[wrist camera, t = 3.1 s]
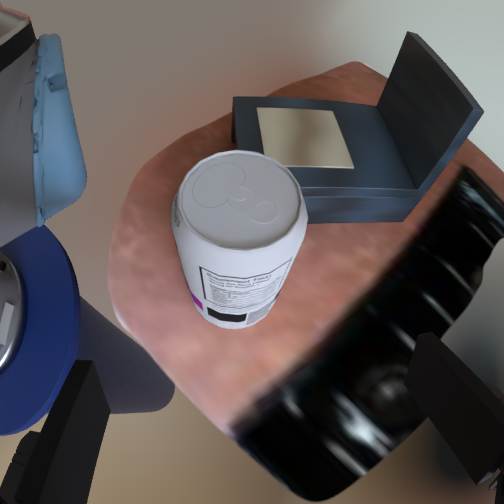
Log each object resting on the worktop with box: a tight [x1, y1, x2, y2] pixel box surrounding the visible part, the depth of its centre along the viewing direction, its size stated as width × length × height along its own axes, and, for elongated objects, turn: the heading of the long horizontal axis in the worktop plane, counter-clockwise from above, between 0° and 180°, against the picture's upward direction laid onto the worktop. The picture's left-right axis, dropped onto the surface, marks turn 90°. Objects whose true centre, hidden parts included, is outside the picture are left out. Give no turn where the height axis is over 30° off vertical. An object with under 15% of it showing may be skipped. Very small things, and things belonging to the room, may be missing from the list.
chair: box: [231, 31, 484, 224], centre depth 30 cm, size 20×14×18 cm
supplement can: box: [171, 150, 308, 329], centre depth 25 cm, size 8×8×15 cm
